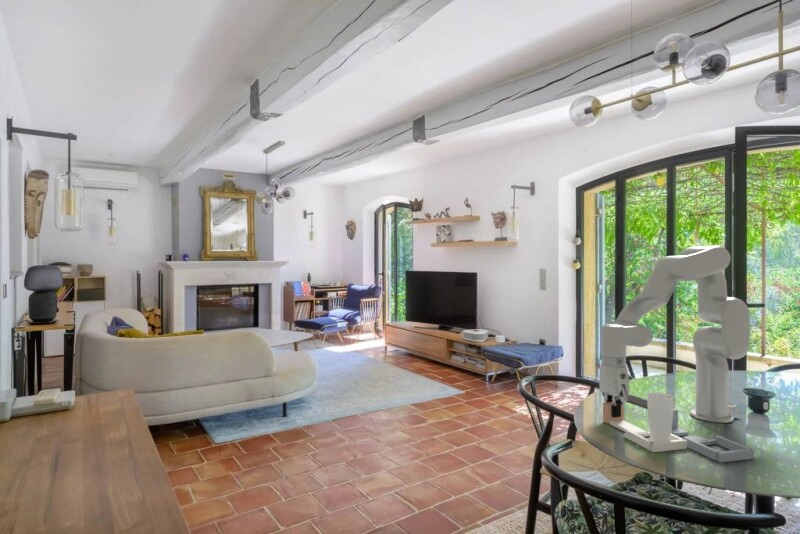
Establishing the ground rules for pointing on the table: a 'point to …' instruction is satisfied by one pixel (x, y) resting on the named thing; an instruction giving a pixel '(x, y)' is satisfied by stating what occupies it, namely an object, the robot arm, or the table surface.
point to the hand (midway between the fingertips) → (613, 414)
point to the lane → (640, 432)
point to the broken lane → (699, 443)
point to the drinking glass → (660, 416)
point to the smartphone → (637, 401)
